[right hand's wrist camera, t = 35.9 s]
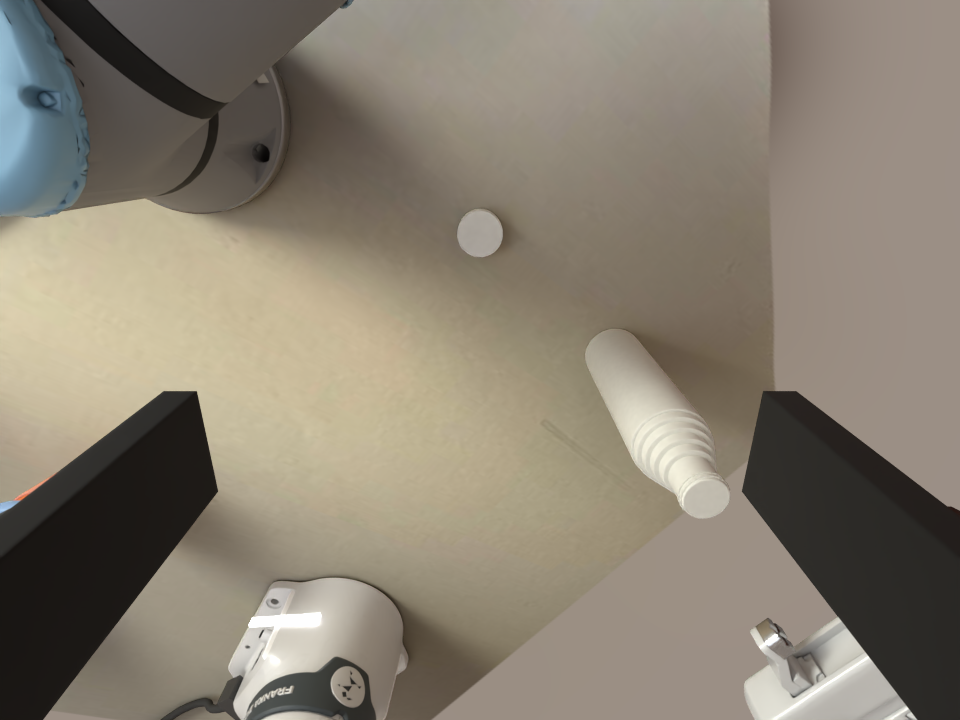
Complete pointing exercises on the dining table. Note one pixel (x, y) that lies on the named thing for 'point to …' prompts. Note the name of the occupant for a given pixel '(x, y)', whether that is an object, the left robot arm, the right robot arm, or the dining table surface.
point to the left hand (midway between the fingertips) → (823, 589)
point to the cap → (479, 233)
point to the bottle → (657, 423)
